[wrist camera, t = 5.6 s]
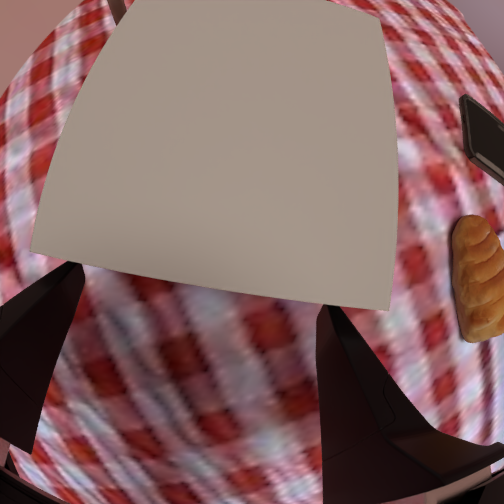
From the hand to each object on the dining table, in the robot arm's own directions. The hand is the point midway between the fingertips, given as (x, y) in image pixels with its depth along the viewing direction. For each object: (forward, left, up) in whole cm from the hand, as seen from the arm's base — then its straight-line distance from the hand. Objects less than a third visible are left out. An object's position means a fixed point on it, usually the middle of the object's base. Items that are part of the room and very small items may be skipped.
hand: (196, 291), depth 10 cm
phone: (+27, -15, -7) cm, 32 cm away
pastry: (+12, -16, -7) cm, 21 cm away
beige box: (+6, +4, -6) cm, 10 cm away
